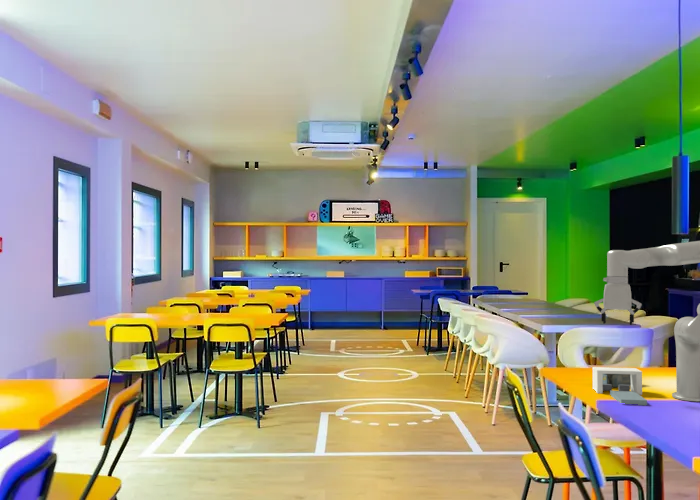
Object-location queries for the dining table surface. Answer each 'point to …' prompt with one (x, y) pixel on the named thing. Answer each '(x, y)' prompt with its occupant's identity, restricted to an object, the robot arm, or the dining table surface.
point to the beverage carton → (617, 379)
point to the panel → (628, 397)
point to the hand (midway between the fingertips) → (617, 323)
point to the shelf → (635, 384)
